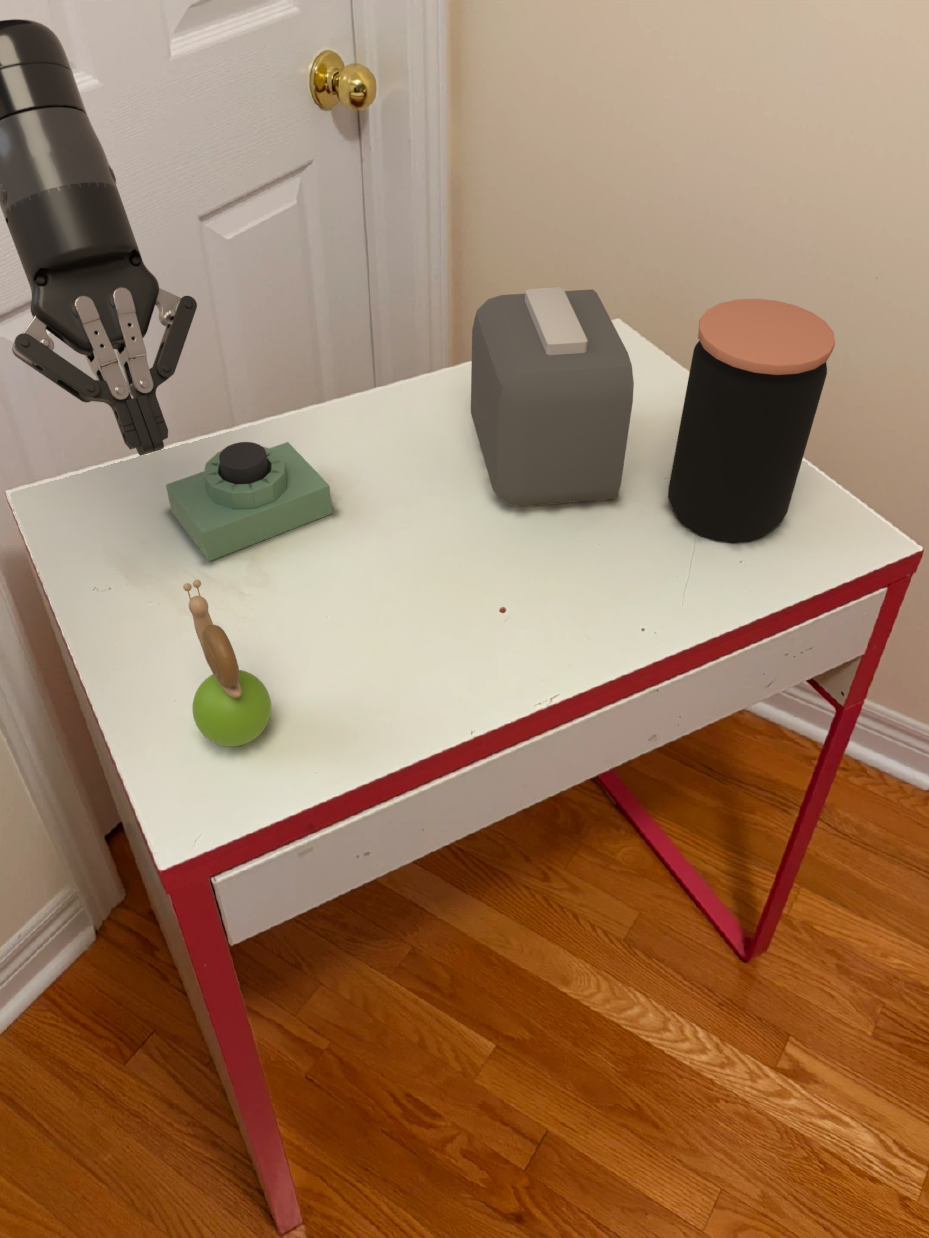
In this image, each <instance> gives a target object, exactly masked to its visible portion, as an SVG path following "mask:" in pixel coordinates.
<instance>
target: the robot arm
mask: <svg viewBox="0 0 929 1238" xmlns="http://www.w3.org/2000/svg"><path fill="white" fill-rule="evenodd" d="M0 209H1V213H2V214H3V218H4V220H5V223H6V225H7V228H8V231H9V234H10V236H11V238H12V241H13V245H14V247H15V249H16V252H17V255H18V257H19V261H20V263H21V266H22V268H23V272H24V273H25V276H26V279H27V281H28V284H29V287H30V292H31V302H30V313H31V316H32V319H31V320H30V321H29V323H28V324H27V326H26V328H25V329H24V330H23V332H21V333H19V334H18V335H16V336H15V339H14V340H13V342H12V347H11V352H12V354H13V355H14V356H15V357H16V358H17V359H19V360H20V361H21V362H23V363H24V364H26V365H27V366H29V367H30V368H32V369H33V370H35V371H36V372H37V373H39V374H41V375H42V376H43V377H45V378H46V379H48V380H50V382H53V384H56V386H58V387H60V388H61V389H63V390H64V391H66V392H67V393H69V394H70V395H72V396H73V397H74V398H76V399H78V400H79V401H80V402H82V403H85V404H86V403H91V402H94V403H95V402H96V403H104V404H106V405H108V406H109V407H110V408H111V410H112V412H113V415H114V417H115V421H116V423H117V426H118V429H119V432H120V434H121V437H122V440H123V443H124V444H125V445H126V447H127V448H128V449H129V450H131V451H132V450H134V449H136V451H137V453H138V455H139V456H140V457H141V456H145V455H148V454H152V453H155V452H159V451H162V450H163V449H165V443H164V441H165V440H166V439H168V438H169V428H168V425H167V423H166V420H165V417H164V414H163V411H162V409H161V406H160V403H159V401H158V398H157V389H158V387H159V386H160V385H161V386H162V384H163V383H165V382H166V381H168V380H169V379H170V378H171V377H172V376H174V374H175V372H176V369H177V367H178V365H179V361H180V358H181V355H182V352H183V349H184V346H185V343H186V341H187V338H188V336H189V335H188V334H189V332H190V329H191V326H192V323H193V320H194V317H195V314H196V311H197V308H198V304H197V303H198V302H197V301H196V299H195V298H194V297H192V296H191V295H183V296H182V297H180V296H178V295H175V294H173V293H171V292H169V291H167V290H165V289H163V288H160V285H159V280H158V279H157V278H156V276H155V275H154V274H153V273H152V272H151V271H150V270H149V268H147V267H146V264H145V263H144V261H143V258H142V255H141V251H140V249H139V246H138V242H137V240H136V238H135V235H134V231H133V229H132V226H131V223H130V220H129V218H128V214H127V211H126V209H125V206H124V204H123V201H122V197H121V195H120V192H119V188H118V186H117V178H116V175H115V173H114V169H113V168H112V167H111V165H110V163H109V161H108V157H107V155H106V152H105V150H104V147H103V146H102V143H101V141H100V139H99V137H98V135H97V133H96V131H95V129H94V128H93V125H92V122H91V120H90V118H89V116H88V113H87V110H86V106H85V104H84V101H83V99H82V96H81V93H80V90H79V88H78V84H77V82H76V79H75V76H74V71H73V69H72V67H71V64H70V61H69V58H68V56H67V54H66V51H65V48H64V46H63V44H62V43H61V40H60V39H59V37H58V36H57V34H56V33H55V32H54V31H53V30H52V29H50V27H48V26H47V25H44V24H43V23H41V22H37V21H35V20H30V19H20V18H13V19H3V20H0ZM155 307H157V309H158V321H159V323H160V324H161V325H162V326H164V327H165V329H164V332H163V334H162V338H161V341H160V344H159V347H158V349H157V352H156V355H155V358H154V361H153V364H152V367H150V365H149V363H148V358H147V349H146V345H145V342H144V338H145V336H146V335H147V333H148V331H149V327H150V324H151V320H152V317H153V313H154V310H155ZM47 331H48V332H49V333H50V334H51V335H53V336H54V337H56V338H57V339H58V340H60V341H61V342H62V343H64V344H65V345H67V346H68V347H69V348H70V349H72V350H73V351H74V352H76V353H78V354H80V355H83V356H84V357H85V359H86V361H87V364H88V365H89V368H90V370H91V372H92V374H93V375H94V376H95V377H96V379H94V378H93V377H91V376H90V375H88V374H87V373H86V372H84V371H83V370H81V369H80V368H78V367H77V366H76V365H74V364H73V363H71V362H69V361H68V360H66V359H65V358H64V357H63V356H61V355H59V354H58V353H57V352H56V351H54V349H55V343H54V341H53V338H51V337H50V336H49V335H48V333H47ZM115 351H116V352H115ZM119 364H120V365H119ZM120 366H121V367H122V369H121V367H120ZM122 370H123V372H122ZM123 373H124V374H123Z"/></svg>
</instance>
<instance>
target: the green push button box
mask: <svg viewBox="0 0 929 1238" xmlns="http://www.w3.org/2000/svg"><path fill="white" fill-rule="evenodd" d="M261 446H262V447H263V448H264V449H265V451H266V455H267V461H268V468H269V471H268V474H267V475H266V477H264V478H263V479H262V480H259V481H256V482H254V483H251V484H233V483H230V482H227V481H226V480H225V479H224V478H223V476H222V472H221V466H220V461H219V455H220V453H221V451H217V453H216V454H214V455H213V456H212V457H211V458H210V459H209V460H208V461H206V462H205V466H204V470H203V471H200V472H197V473H194V474H192V475H190V476H187V477H183V478H180V479H179V480H175V481H172V482H169V483H167V484H165V489H166V493H167V497H168V501H169V506H170V510H171V514H172V515H173V516H174V517H175V519H176V520H177V521H178V523H179V524H180V525H181V527H182V528H183V530H184V531H185V532H186V533H187V535H188V536H189V538H190V539H191V540H192V541H193V543H194V544H195V546H196V547H197V548H198V550H199V551H200V552H201V554H202V555H203V557H205V559H206V560H207V562H212V561H214V560H217V559H219V558H222V557H225V556H227V555H230V554H232V553H235V552H237V551H241V550H243V549H245V548H247V547H250V546H253V545H255V544H258V543H260V542H263V541H266V540H268V539H271V538H274V537H276V536H278V535H281V534H284V533H286V532H289V531H291V530H294V529H296V528H299V527H301V526H302V527H303V526H304V525H306V524H310V523H312V522H314V521H317V520H320V519H322V518H325V517H327V516H330V515H332V514H333V507H332V497H331V488H330V484H329V483H328V482H327V481H326V480H325V479H324V478H323V477H322V476H321V475H320V474H319V473H318V472H317V470H315V469H314V467H313V466H312V465H311V464H310V463H309V462H308V461H307V460H306V459H305V458H304V457H303V455H301V454H300V453H299V452H298V451H297V449H296V448H294V446H292V444H291V443H290V442H289V441H287V442H284V443H281V444H278V445H275V446H272V447H267V446H263V445H261Z"/></svg>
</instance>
